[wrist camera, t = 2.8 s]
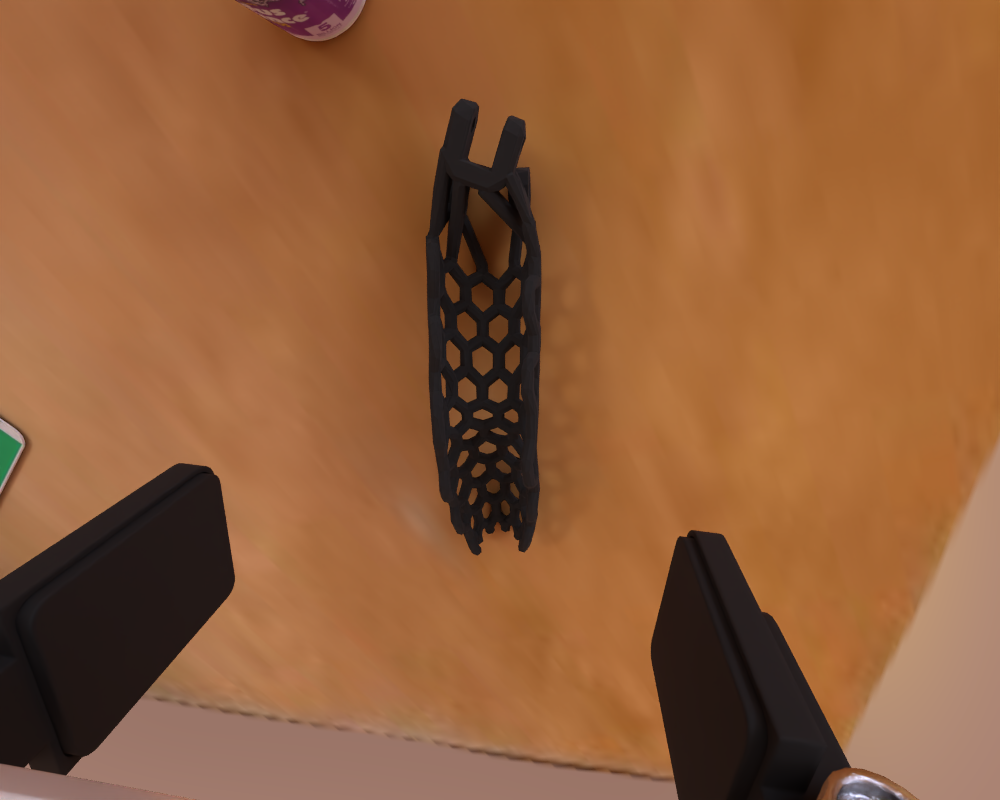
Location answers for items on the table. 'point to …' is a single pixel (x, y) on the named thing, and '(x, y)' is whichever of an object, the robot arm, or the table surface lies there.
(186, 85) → the table surface
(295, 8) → the pill bottle
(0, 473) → the sign
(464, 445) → the decorative element
